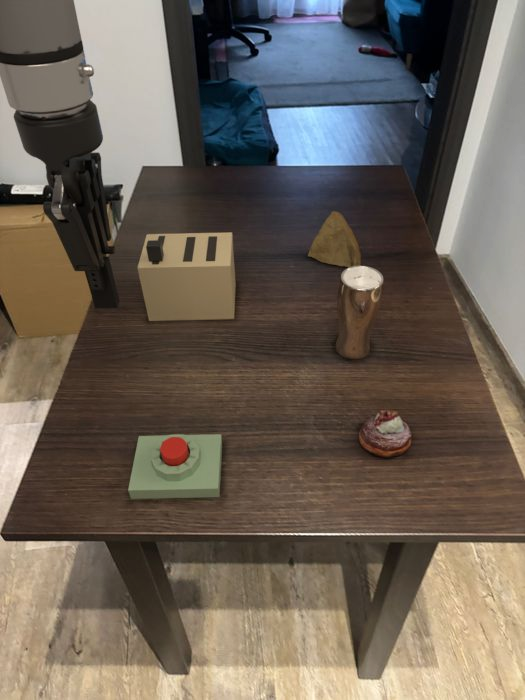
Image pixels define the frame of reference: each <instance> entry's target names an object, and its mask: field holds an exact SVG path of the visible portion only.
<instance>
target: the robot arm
mask: <svg viewBox="0 0 525 700" xmlns="http://www.w3.org/2000/svg"><path fill="white" fill-rule="evenodd" d="M82 39H83V38H82V34H81V29H80V25H79V20H78V15H77V10H76V5H75V0H0V80H1V83H2V86H3V87H2V88H3V89H4V93H5V96H6V100H7V103H8V105H9V107H10V108H12V109H13V110H15V111H14V114H13V119H14V120H13V121H14V122H15V126H16V129H17V132H18V135H19V138H20V142H21V144H22V147H23V148H22V149H23V150H24V152H25V153H27V155H29V156H31V157H33V158H36V159H38V160H40V161H41V162H42V163H43V164H44V165H45V172H46V173H45V174H46V176H45V178H46V181H47V184H48V186H49V189H50V190H51V191H52V201H44V202H43V204H42V207H43V208H42V209H43V213H44V215H45V216H46V217H47V218H48V219H49V220H50V222H51V223H52V225H53V227H54V229H55V231H56V234H57V236H58V238H59V240H60V242H61V245H62V246H63V249H64V251H65V253H66V256H67V257H68V260H69V262H70V264H71V266H72V268H73V271H74V272H84V274H85V278H86V281H87V285H88V288H89V291H90V295H91V298H92V302H93V306H94V309H118V308H119V304H120V302H121V301H120V296H119V292H118V287H117V285H116V279H115V276H114V272H113V269H112V264H111V260H110V256H107V255H115V253H116V246H115V245H109V243H108V242H111V240H112V232H111V226H110V221H109V213H108V206H107V200H106V194H105V187H104V181H103V171H102V156H101V153H100V152H99V151H98V152H95V151H96V150H98V148H99V147H100V146H101V145H102V144H103V140H104V136H103V131H102V126H101V121H100V116H99V111H98V108H97V104H96V103H94V102H93V101H92V98H93V96H94V92H93V87H92V83H91V79H90V77H93V76H94V74H95V69H94V67H93V66H92V65H91V64H87V59H86V55H85V51H84V50H85V49H84V44H83V40H82Z"/></svg>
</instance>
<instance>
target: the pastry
mask: <svg viewBox="0 0 525 700" xmlns="http://www.w3.org/2000/svg"><path fill="white" fill-rule="evenodd" d="M412 436H413V435H412V432H411V429H410V426H409V425H408V423H406V422H405V421H404V420H402V418H401V416H400V415H399V413H398V412H397V411H396V410H392V411H390V410H388V409H386V410H384V409H380V411H379V412H377V414H376V415H372V416H370V417H369V418H367V419H366V420H365V421H363V423H362V425H361V427H360V429H359V432H358V442H359V444H360V446H361V447H362V448H363V450H365V451H366V452H368V453H369V454H371V455H374V456H376V457H380V458H384V459H388V458H394V457H399V456H401V455H403V454H404V453H406V452H407V451H408V450H409V449H410V447H411V443H412V438H413V437H412Z"/></svg>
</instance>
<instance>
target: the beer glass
mask: <svg viewBox="0 0 525 700" xmlns="http://www.w3.org/2000/svg"><path fill="white" fill-rule="evenodd" d="M383 285H384V276H383V274H382V273H381V272H380V271H379V270H378V269H376V268H374V267H372V266H367V265H360V266H352V267H349V268H348V267H346V268H345V269H344V270H343V271H342V273H341V275H340V281H339V286H338V290H337V298H336V299H337V301H336V308H337V309H336V310H337V320H338V335H337V337H336V339H335V344H334V348H335V351H336V352H337V354H338V355H339V356H341V357H342V358H345V359H349V360H360V359H363V358H366V357H367V356H368V355H369V354H370V351H371V340H370V339H371V338H370V337H371V333H372V329H373V327H374V324H375V322H376V320H377V317H378V315H379V312H380V309H381V304H382V297H383Z"/></svg>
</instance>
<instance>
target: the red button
mask: <svg viewBox="0 0 525 700" xmlns="http://www.w3.org/2000/svg"><path fill="white" fill-rule="evenodd" d="M160 451H161V455H162V459H163V461H164V462H165V463H166V464H168V465H170V466H177V465H180V464H182V463H183V462H185V461H186V459H187V457H188V448H187V443H186V442H185V440H184V439H182V438H180V437H171V438H168V439H166V440H165V441H164V442H163V443H162V445H161V448H160Z"/></svg>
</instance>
